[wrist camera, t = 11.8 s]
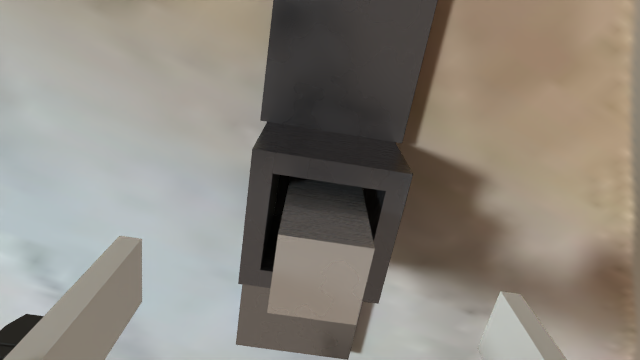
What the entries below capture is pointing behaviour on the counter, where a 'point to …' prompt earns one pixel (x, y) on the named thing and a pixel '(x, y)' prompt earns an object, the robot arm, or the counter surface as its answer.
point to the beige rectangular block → (321, 252)
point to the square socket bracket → (330, 142)
